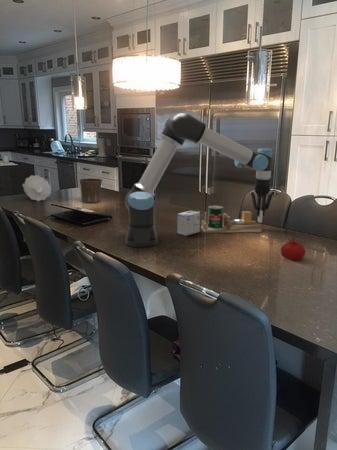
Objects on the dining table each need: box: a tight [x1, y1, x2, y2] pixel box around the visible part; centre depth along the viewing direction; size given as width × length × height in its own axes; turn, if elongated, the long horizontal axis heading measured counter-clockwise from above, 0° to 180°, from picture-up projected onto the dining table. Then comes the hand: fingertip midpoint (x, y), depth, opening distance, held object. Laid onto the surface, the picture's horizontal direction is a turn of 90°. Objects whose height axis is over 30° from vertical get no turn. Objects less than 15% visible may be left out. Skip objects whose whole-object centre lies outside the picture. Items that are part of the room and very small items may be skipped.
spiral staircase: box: [21, 174, 52, 202], centre depth 276 cm, size 18×18×25 cm
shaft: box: [232, 210, 253, 225], centre depth 199 cm, size 4×9×8 cm, turn 96°
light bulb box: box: [177, 210, 201, 236], centre depth 192 cm, size 11×7×11 cm, turn 135°
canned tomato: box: [207, 204, 224, 229], centre depth 197 cm, size 8×8×11 cm
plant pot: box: [78, 178, 103, 204], centre depth 268 cm, size 16×16×16 cm
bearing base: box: [201, 212, 262, 234], centre depth 199 cm, size 10×30×8 cm, turn 96°
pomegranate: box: [280, 236, 306, 262], centre depth 156 cm, size 10×10×9 cm
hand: (259, 222), depth 200 cm, fingers closed
